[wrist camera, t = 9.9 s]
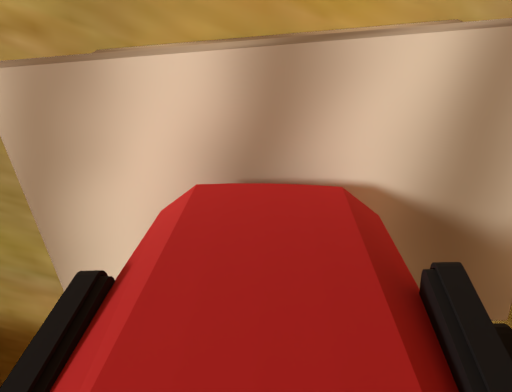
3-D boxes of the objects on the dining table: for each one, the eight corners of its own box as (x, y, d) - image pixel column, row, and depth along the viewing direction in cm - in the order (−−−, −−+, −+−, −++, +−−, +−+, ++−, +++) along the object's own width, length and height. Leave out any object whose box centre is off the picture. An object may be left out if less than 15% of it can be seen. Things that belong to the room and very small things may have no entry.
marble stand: (490, -7, 16) (585, 19, 11) (454, 225, 21) (507, 320, 16) (67, 31, 18) (-27, 69, 12) (127, 236, 23) (78, 325, 17)
